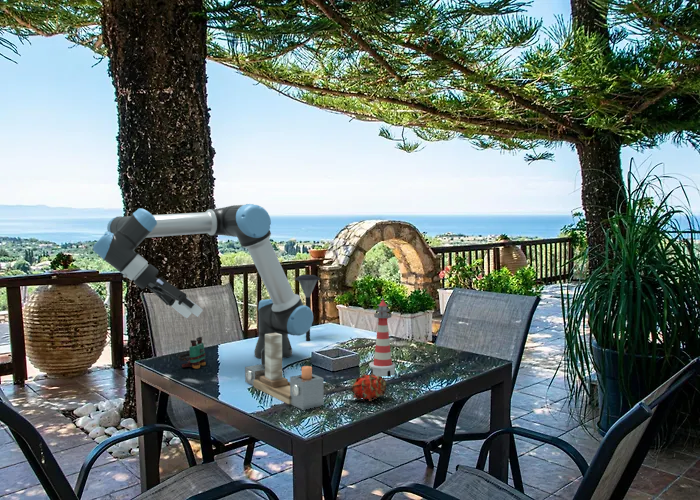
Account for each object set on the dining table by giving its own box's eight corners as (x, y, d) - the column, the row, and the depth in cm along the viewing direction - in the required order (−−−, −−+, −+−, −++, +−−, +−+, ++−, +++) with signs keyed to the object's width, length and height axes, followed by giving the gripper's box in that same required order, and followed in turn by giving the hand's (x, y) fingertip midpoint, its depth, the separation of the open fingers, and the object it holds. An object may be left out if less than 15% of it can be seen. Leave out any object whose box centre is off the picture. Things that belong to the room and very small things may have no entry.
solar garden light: (289, 340, 250) (288, 275, 249) (310, 336, 259) (309, 273, 257) (305, 344, 241) (305, 276, 240) (326, 340, 250) (326, 275, 248)
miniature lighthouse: (377, 380, 184) (377, 292, 183) (364, 374, 192) (364, 289, 191) (400, 377, 188) (400, 290, 187) (386, 370, 196) (386, 288, 195)
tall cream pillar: (275, 379, 179) (274, 331, 179) (287, 385, 173) (287, 335, 172) (259, 382, 176) (259, 333, 175) (272, 388, 169) (271, 337, 169)
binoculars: (183, 337, 208) (207, 335, 206) (186, 364, 209) (210, 363, 207) (171, 342, 200) (196, 340, 198) (174, 370, 200) (199, 369, 198)
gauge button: (308, 385, 161) (308, 365, 161) (313, 387, 158) (313, 367, 158) (299, 387, 159) (299, 367, 159) (305, 389, 157) (305, 369, 156)
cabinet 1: (263, 378, 187) (263, 363, 187) (274, 382, 181) (273, 368, 181) (243, 382, 182) (243, 367, 182) (253, 386, 177) (253, 371, 176)
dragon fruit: (390, 403, 164) (352, 413, 161) (381, 381, 171) (344, 390, 168) (393, 386, 159) (354, 396, 156) (383, 364, 165) (345, 372, 162)
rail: (275, 382, 182) (275, 375, 181) (311, 399, 164) (311, 391, 164) (253, 386, 177) (253, 379, 177) (288, 404, 159) (288, 396, 159)
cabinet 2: (310, 399, 164) (310, 373, 163) (323, 405, 158) (323, 378, 158) (288, 404, 159) (288, 377, 159) (301, 410, 154) (301, 382, 153)
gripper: (126, 285, 178) (178, 324, 184) (139, 277, 156) (197, 322, 162) (142, 267, 181) (192, 307, 187) (156, 257, 159) (212, 302, 166)
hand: (194, 314), depth 175 cm, fingers open, 13 cm apart
